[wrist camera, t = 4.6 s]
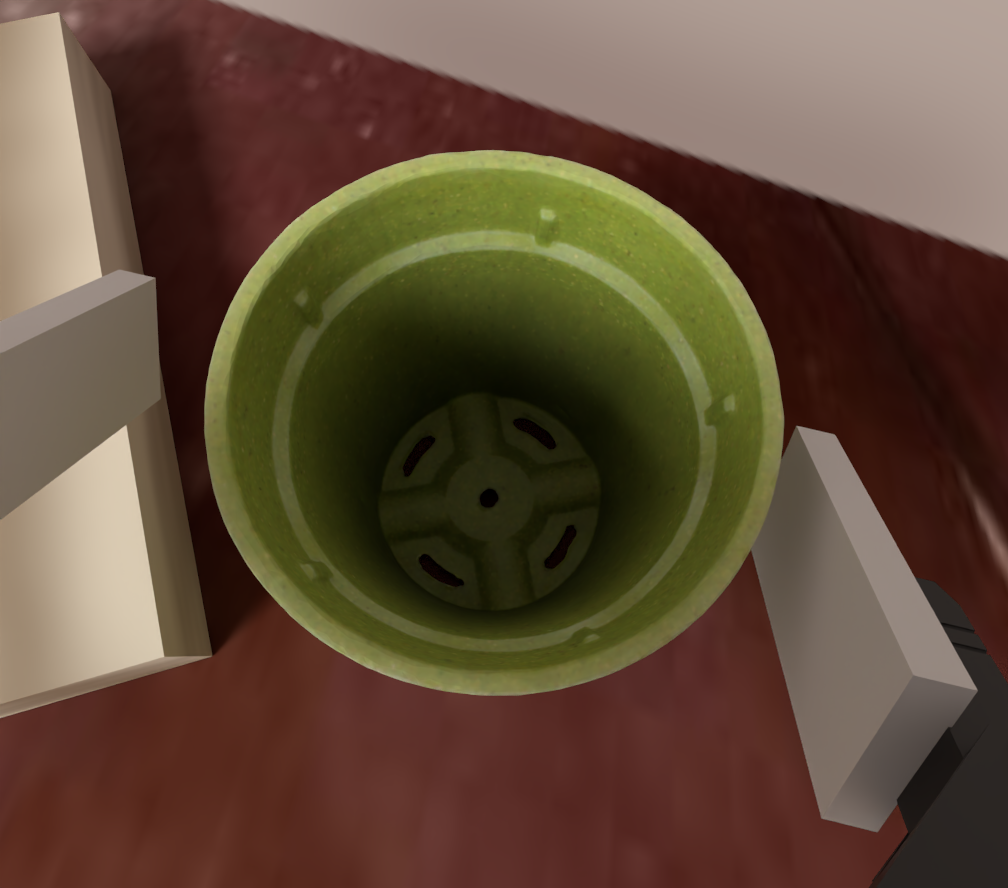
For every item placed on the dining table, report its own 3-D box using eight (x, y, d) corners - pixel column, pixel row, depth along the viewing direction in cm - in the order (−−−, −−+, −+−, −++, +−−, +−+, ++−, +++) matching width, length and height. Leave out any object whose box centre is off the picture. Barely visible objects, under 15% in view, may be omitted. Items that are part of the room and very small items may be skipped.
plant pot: (439, 285, 22) (412, 63, 14) (719, 446, 21) (876, 309, 13) (248, 554, 20) (78, 482, 11) (552, 750, 19) (609, 829, 10)
